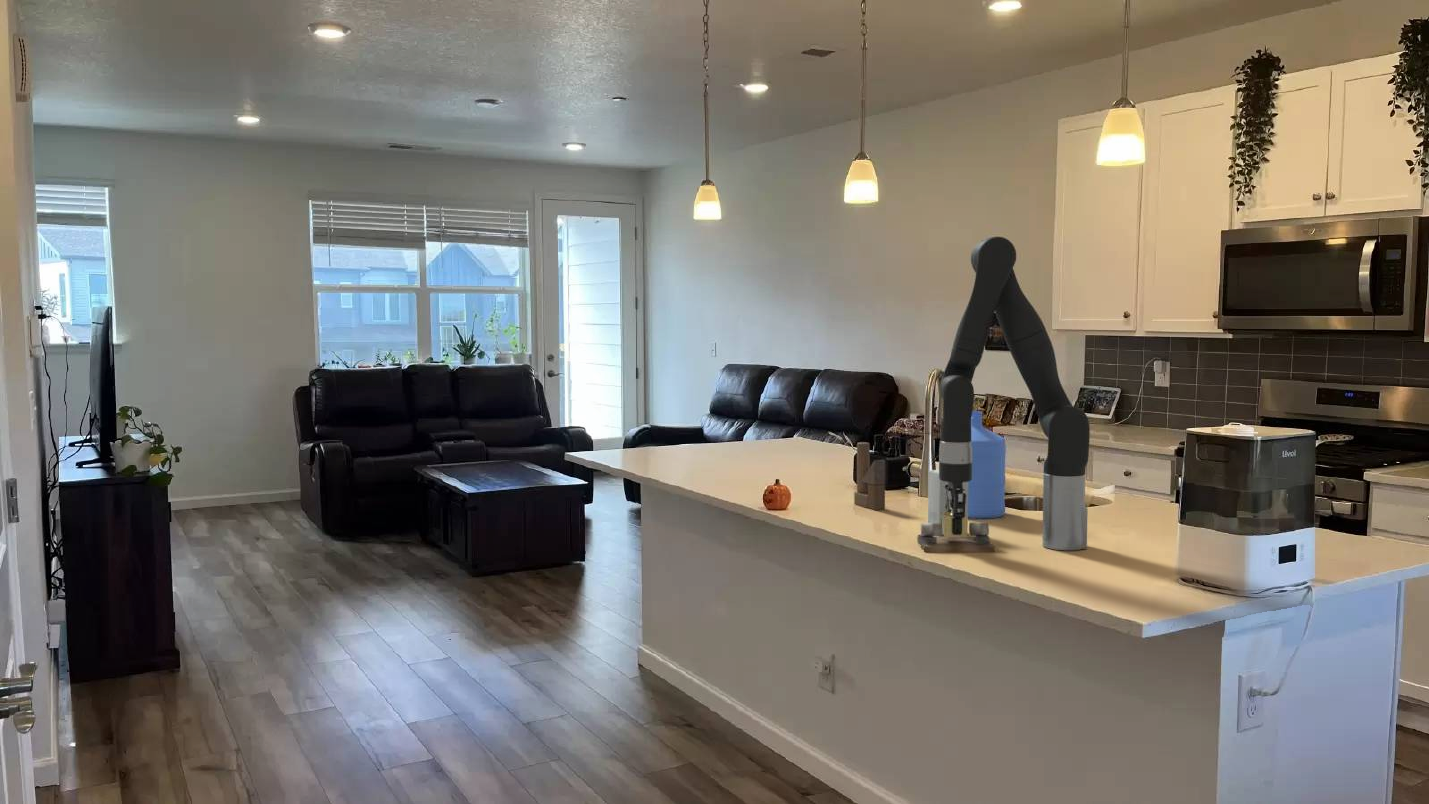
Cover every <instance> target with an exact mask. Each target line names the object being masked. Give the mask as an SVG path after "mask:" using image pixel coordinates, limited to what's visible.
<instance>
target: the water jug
mask: <svg viewBox="0 0 1429 804" xmlns="http://www.w3.org/2000/svg"><path fill="white" fill-rule="evenodd" d="M971 445H972V480H971V481H969V482H968V519H973V520H974V519H975V520H976V519H977V520H987V519H995V518H1001V517H1003V516H1004V515H1005V513H1006V505H1005V501H1006V500H1005V497H1006V496H1005V495H1006V494H1005V493H1006V492H1005V489H1006V488H1005V486H1006V453H1007V446H1006V439H1005V438H1004V436H1001V435H999V434H997V433H995V432H993V431H991V430H990V429H987V428H985V427H984V426H983V411H977V410H976V411H974V410H973V411H972V417H971Z"/></svg>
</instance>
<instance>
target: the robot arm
mask: <svg viewBox="0 0 1429 804" xmlns="http://www.w3.org/2000/svg"><path fill="white" fill-rule="evenodd" d="M1016 261H1017V250H1016V247H1015V245H1014V244H1013V243H1012V242H1011V240H1009V239H1008V238H1006V237H1004V236H993V237H992V236H991V237H988V238H986V239H982V240H980V241H978V242H977V244H976V245H975V246H974V247H973V248H972V252H971V255H970V263H971V266H972V269H973V271H974V273H975V279H974V283H973V288H972V291H971V295H970V298H969V300H968V303H967V305H966V308H965V310H964V313H963V315H962V317H961V319H960V322H959V324H958V327H957V330H956V333H955V336H954V340H953V344H952V347H951V352H950V357H949V360H948V361H947V364H946V367H945V368H944V371H943V374H942V377H941V380H940V384H939V394H940V397H941V398H942V399H943V401H942V402H943V412H942V415H943V417H942V418H941V422H940V441H939V442H940V443H939V450H938V451H939V452H938V454H939V455H938V459H939V460H938V470H939V479H940V480H942V481H945V482H948V485H945V499H946V506H945V508H946V510H947V512H951V511H952V515H951V517H952V534H953V535H961V534H962V519H963V518H964V517H965V504H966V493H965V489H963V485H962V484H963V482H969V481H971V480H972V445H971V417H972V412H973V411H974V403H975V402H974V400H975V391H974V390H975V389H974V386H973V383H972V381H973V378H974V375H975V371H976V368H978V366H979V365H980V363H981V360H982V357H983V354H984V351H985V348H986V344H987V340H988V336H989V333H990V329H991V325H992V323H993V319H994V315H995V316H996V319H997V321H998V324H999V327H1000V329H1001V332H1002V335H1003V338H1004V341H1005V342H1006V344H1007V347H1008V349H1009V352H1010V354H1011V357H1012V359H1013V361H1014V363H1015V365H1016V368H1017V369H1018V371H1019V373H1020V375H1021V378H1022V380H1023V381H1024V383H1025V384H1026V387H1027V389H1028V390H1029V394H1030V395H1031V398H1032V401H1033V404H1034V407H1035V411H1036V414H1037V416H1038V417H1037V418H1038V420H1039V421H1038V422H1039V424H1040V427H1041V430H1042V432H1043V435H1045V436H1046V437H1047V439H1048V441H1047V455H1046V459H1045V460H1044V462H1043V485H1042V486H1043V487H1042V489H1043V490H1042V491H1043V492H1042V493H1043V494H1042V497H1043V499H1042V546H1043V547H1044V548H1046V549H1047V548H1048V549H1050V550H1056V551H1077V550H1087V549H1088V512H1089V511H1088V507H1086V506H1085V505H1086V470H1087V465H1088V462H1089V457H1090V440H1091V439H1090V436H1091V435H1090V434H1091V433H1090V432H1091V430H1090V429H1091V428H1090V421H1089V417H1088V416H1087V414H1086V413H1085V412H1084V411H1083V410H1082V409H1081V408H1079V407H1077V406H1074V405H1073V404H1072V402H1071V401H1070V399H1069V398H1068V396H1067V394H1066V392H1065V389H1064V388H1063V386H1062V383H1061V380H1060V377H1059V372H1058V367H1057V359H1056V354H1055V349H1054V346H1053V344H1052V340H1051V338H1050V335H1049V333H1048V331H1047V329H1046V327H1045V323H1044V322H1043V320H1042V318H1041V317H1040V315H1039V313H1038V312H1037V311H1036V309H1035V308H1034V306H1033V305H1032V304H1031V302H1030V301H1029V299H1027V297H1026V295H1025V293H1024V292H1023V290H1022V289H1021V286H1020V284H1019V282H1018V281H1019V280H1018V278H1017V276H1016V272H1015V271H1014V266H1015V264H1016ZM958 509H960V512H958ZM956 511H957V512H956Z"/></svg>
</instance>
